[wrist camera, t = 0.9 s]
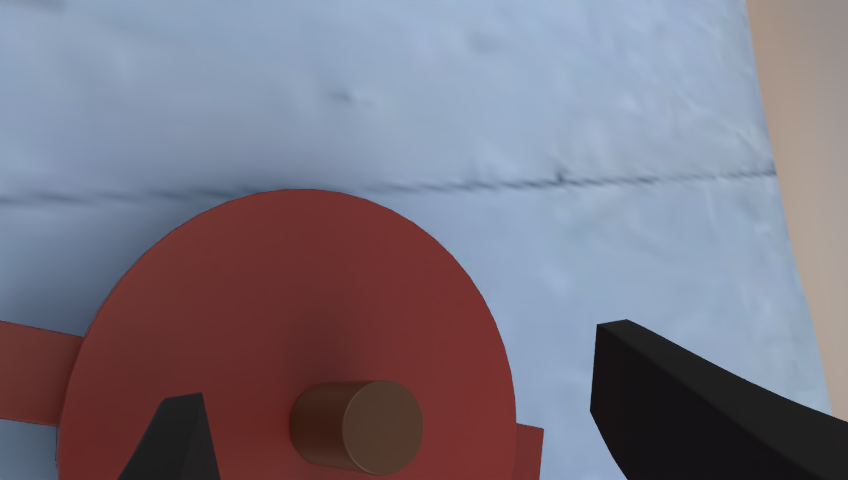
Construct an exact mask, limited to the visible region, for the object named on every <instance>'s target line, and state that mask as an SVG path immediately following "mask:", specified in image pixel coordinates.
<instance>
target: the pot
mask: <svg viewBox="0 0 848 480" xmlns="http://www.w3.org/2000/svg"><path fill="white" fill-rule="evenodd" d="M82 339H83V337H81V336H76V335H71V334H66V333H61V332H56V331H51V330H46V329H41V328H36V327H30V326H25V325H20V324H15V323H10V322H5V321H0V419H6V420H13V421H20V422H27V423H34V424H41V425H48V426H55V427H57V437H56V454H57V440H58V427H59V415H60V411H61V406H62V401H63V397H64V392H65V387H66V383H67V378H68V376H69V373H70V370H71V367H72V365H73V362H74V359H75V356H76V353H77V351H78V348H79V345H80V343H81V341H82ZM516 427H517V428H516V447H515V459H514V465H513V472H512V478H511V480H539V477H540V466H541V455H542V445H543V434H544V429H542V428H538V427H533V426H528V425H523V424H518V423H516ZM55 461H56V462H57V456H56V455H55ZM56 468H57V463H56ZM57 472H58V471H57Z"/></svg>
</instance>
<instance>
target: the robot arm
mask: <svg viewBox="0 0 848 480" xmlns="http://www.w3.org/2000/svg"><path fill="white" fill-rule="evenodd" d="M590 412H591V414H592V417H593V419H594V421H595V423H596V425H597V427H598V429H599V431H600V433H601V436H602V438H603V439H604V441H605V443H606V445H607V447H608V449H609V451H610V453H611V455H612V457H613V458H614V460H615V462H616V463H617V465H618V466H619V468H620V469H621V471H622V472H623V474H624V475H625V477H626V478H627V480H848V422H846V421H843V420H840V419H838V418H835V417H832V416H830V415H827V414H825V413H822V412H819V411H817V410H814V409H811V408H809V407H806V406H803V405H801V404H799V403H796V402H794V401H791V400H789V399H787V398H784V397H782V396H780V395H778V394H775V393H773V392H771V391H769V390H767V389H764V388H762V387H760V386H758V385H756V384H753V383H751V382H749V381H747V380H745V379H743V378H741V377H739V376H737V375H735V374H733V373H731V372H729V371H727V370H725V369H723V368H721V367H719V366H717V365H715V364H713V363H711V362H709V361H707V360H705V359H703V358H701V357H700V356H698V355H696V354H694V353H692V352H690V351H688V350H686V349H684V348H683V347H681V346H679V345H677V344H675V343H673V342H671V341H669V340H668V339H666V338H664V337H662V336H660V335H658V334H656V333H654V332H652V331H650V330H648V329H646V328H645V327H642V326H640V325H638V324H636V323H634V322H632V321H630V320H627V319H626V320H620V321H614V322H608V323H602V324H597V330H596V342H595V355H594V367H593V379H592V392H591V404H590ZM117 480H221V478H220V474H219V469H218V464H217V460H216V455H215V450H214V446H213V441H212V436H211V431H210V427H209V422H208V417H207V413H206V408H205V403H204V399H203V394H202V392H198V393H192V394H187V395H181V396H175V397H169V398H165V399H164V400H163V401H162V402H161V403H160V404H159V406H158V408H157V410H156V412H155V414H154V416H153V418H152V420H151V422H150V424H149V425H148V427H147V429H146V431H145V433H144V435H143V436H142V438H141V440H140V442H139V444H138V445H137V447H136V449H135V451H134V452H133V454H132V456H131V457H130V459H129V461H128V462H127V464H126V466H125V467H124V469H123V470H122V472H121V474H120V475H119V477H118V479H117Z"/></svg>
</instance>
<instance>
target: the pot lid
mask: <svg viewBox="0 0 848 480" xmlns="http://www.w3.org/2000/svg"><path fill="white" fill-rule="evenodd" d="M198 392H202V394H203V399H204V403H205V408H206V413H207V417H208V422H209V427H210V431H211V436H212V441H213V446H214V450H215V455H216V460H217V464H218V469H219V474H220V478H221V480H511V478H512V472H513V465H514V459H515V447H516V428H517V427H516V406H515V395H514V388H513V382H512V375H511V370H510V366H509V362H508V359H507V355H506V351H505V347H504V344H503V341H502V339H501V336H500V333H499V331H498V328H497V325H496V322H495V320H494V318H493V316H492V314H491V312H490V310H489V308H488V306H487V304H486V302H485V300H484V298H483V297H482V295H481V294H480V292H479V290H478V289H477V287H476V286H475V284H474V283H473V281H472V280H471V278H470V276H469V275H468V274H467V273H466V272H465V270H464V269H463V268H462V267H461V265H460V264H459V263H458V262H457V261H456V259H455V258H454V257H453V256H452V255H451V254H450V253H449V252H448V251H447V250H446V249H445V248H444V247H443V246H442V245H441V244H440V243H439V242H438V241H437V240H436V239H435V238H433V237H432V236H431V235H429V234H428V233H427V232H425V231H424V230H423V229H421V228H420V227H419V226H417V225H416V224H415V223H413V222H412V221H410V220H408V219H406V218H405V217H403V216H401V215H399V214H398V213H396V212H394V211H393V210H391V209H388V208H386V207H383V206H381V205H379V204H376V203H374V202H371V201H369V200H367V199H363V198H359V197H356V196H352V195H348V194H344V193H341V192H333V191H325V190H318V189H282V190H276V191H269V192H262V193H256V194H252V195H249V196H245V197H242V198H238V199H235V200H232V201H228V202H225V203H223V204H221V205H219V206H216V207H214V208H212V209H210V210H207V211H205V212H203V213H201V214H199V215H197V216H195V217H194V218H192V219H190V220H189V221H187V222H186V223H184V224H182V225H181V226H179V227H178V228H176V229H174V230H173V231H171V232H170V233H168V234H167V235H166V236H165V237H164V238H162V239H161V240H160V241H159V242H158V243H156V244H155V245H154V246H153V247H151V248H150V249H149V250H148V251H147V252H145V253H144V254H143V255H142V256H141V257H140V258H139V259H138V260H137V261H136V262H135V263H134V264H133V265H132V267H131V268H130V269H129V270H128V271H127V272H126V273H125V274H124V275H123V276H122V277H121V278H120V280H119V281H118V282H117V283H116V285H115V286H114V287H113V289H112V290H111V292H110V293H109V295H108V296H107V297H106V299H105V300H104V302H103V303H102V305H101V306H100V307H99V309H98V310H97V312H96V314H95V316H94V318H93V320H92V322H91V324H90V325H89V327H88V329H87V331H86V333H85V335H84V337H83V339H82V341H81V343H80V345H79V348H78V351H77V353H76V356H75V359H74V362H73V365H72V367H71V370H70V373H69V376H68V378H67V383H66V387H65V392H64V397H63V401H62V406H61V411H60V415H59V427H58V440H57V454H56V456H57V471H58V480H117V479H118V477H119V475H120V474H121V472H122V470H123V469H124V467H125V466H126V464H127V462H128V461H129V459H130V457H131V456H132V454H133V452H134V451H135V449H136V447H137V445H138V444H139V442H140V440H141V438H142V436H143V435H144V433H145V431H146V429H147V427H148V425H149V424H150V422H151V420H152V418H153V416H154V414H155V412H156V410H157V408H158V406H159V404H160V403H161V402H162V401H163V400H164V399H165V398H169V397H175V396H181V395H187V394H192V393H198Z"/></svg>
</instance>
